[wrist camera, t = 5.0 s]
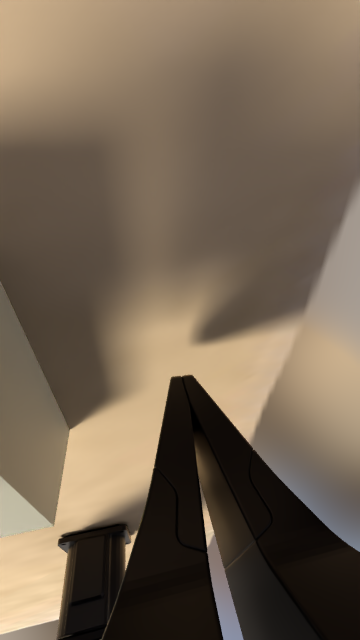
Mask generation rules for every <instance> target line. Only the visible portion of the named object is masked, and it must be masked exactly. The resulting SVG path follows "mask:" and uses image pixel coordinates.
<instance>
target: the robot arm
mask: <svg viewBox="0 0 360 640" xmlns="http://www.w3.org/2000/svg"><path fill="white" fill-rule="evenodd" d="M198 475H199V476H198ZM199 479H200V482H201V486H202V490H203V493H204V497H205V501H206V504H207V508H208V511H209V515H210V519H211V522H212V526H213V530H214V533H215V537H216V540H217V544H218V548H219V551H220V555H221V559H222V562H223V566H224V568H225V573H226V577H227V580H228V584H229V588H230V591H231V595H232V599H233V602H234V606H235V610H236V613H237V617H238V620H239V624H240V628H241V631H242V635H243V639H244V640H360V552H359V551H357V550H355V549H354V548H353V547H351V546H350V545H348V544H347V543H346V542H344V541H343V540H342V539H340V538H339V537H338V536H337V535H336V534H334V533H333V532H332V531H331V530H330V529H329V528H328V527H327V526H326V525H325V524H324V523H323V522H322V521H321V520H320V519H319V518H318V517H317V516H316V515H315V514H314V513H313V512H312V511H311V510H310V509H309V508H308V507H307V506H306V505H305V504H304V503H303V502H302V501H301V500H300V499H299V498H298V497H297V496H296V495H295V494H294V493H293V492H292V491H291V490H290V489H289V488H288V487H287V486H286V485H285V484H284V483H283V482H282V481H281V480H280V479H279V478H278V477H277V476H276V474H275V473H274V472H273V471H272V470H271V469H270V468H269V467H268V465H267V464H266V463H265V462H264V461H263V460H262V458H261V457H260V456H259V455H258V454H257V452H256V451H255V450H253V448H252V446H251V445H250V444H249V443H248V442H247V440H246V439H245V438H244V437H243V436H242V434H241V433H240V432H239V431H238V430H237V428H236V427H235V426H234V425H233V424H232V422H231V421H230V420H229V419H228V417H227V416H226V415H225V414H224V413H223V411H222V410H221V409H220V408H219V407H218V405H217V404H216V403H215V402H214V401H213V399H212V398H211V397H210V396H209V395H208V393H207V392H206V391H205V390H204V388H203V387H202V386H201V385H200V384H199V382H198V381H197V380H196V379H195V378H194V376H193V375H184V376H182V377H181V376H175V377H171V380H170V385H169V390H168V396H167V401H166V406H165V412H164V417H163V422H162V427H161V433H160V438H159V443H158V448H157V454H156V459H155V464H154V469H153V474H152V479H151V484H150V489H149V493H148V498H147V502H146V505H145V509H144V512H143V516H142V519H141V523H140V526H139V529H138V532H137V536H136V539H135V542H134V545H133V549H132V552H131V555H130V558H129V562H128V565H127V568H126V571H125V545H126V544H130V543H131V536H130V534H129V531H128V528H127V525H120V526H116V527H111V528H106V529H102V530H97V531H93V532H88V533H83V534H79V535H74V536H69V537H65V538H61V539H59V540H58V546H59V547H60V548H61V549H63V550H64V551H65V552H66V553H68V556H67V563H66V571H65V579H64V586H63V594H62V601H61V609H60V617H59V624H58V632H57V639H58V640H223V636H222V631H221V626H220V621H219V616H218V611H217V607H216V602H215V597H214V592H213V587H212V582H211V575H210V568H209V562H208V554H207V544H206V535H205V527H204V519H203V510H202V502H201V493H200V485H199Z"/></svg>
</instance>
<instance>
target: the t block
mask: <svg viewBox="0 0 360 640" xmlns="http://www.w3.org/2000/svg"><path fill="white" fill-rule="evenodd" d="M69 432H70V429H69V427H68V425H67V423H66V421H65V419H64V416H63V414H62V412H61V410H60V408H59V406H58V403H57V401H56V399H55V397H54V395H53V393H52V391H51V388H50V386H49V384H48V382H47V380H46V378H45V376H44V373H43V371H42V369H41V367H40V365H39V363H38V361H37V358H36V356H35V354H34V352H33V350H32V348H31V346H30V343H29V341H28V339H27V337H26V335H25V333H24V331H23V328H22V326H21V324H20V322H19V320H18V318H17V316H16V313H15V311H14V309H13V307H12V305H11V303H10V301H9V298H8V296H7V294H6V292H5V290H4V288H3V285H2V283H1V281H0V538H2V537H7V536H11V535H16V534H20V533H25V532H30V531H34V530H39V529H43V528H48V527H52V526H54V522H55V516H56V510H57V504H58V498H59V492H60V486H61V480H62V474H63V468H64V462H65V456H66V450H67V444H68V438H69Z"/></svg>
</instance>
